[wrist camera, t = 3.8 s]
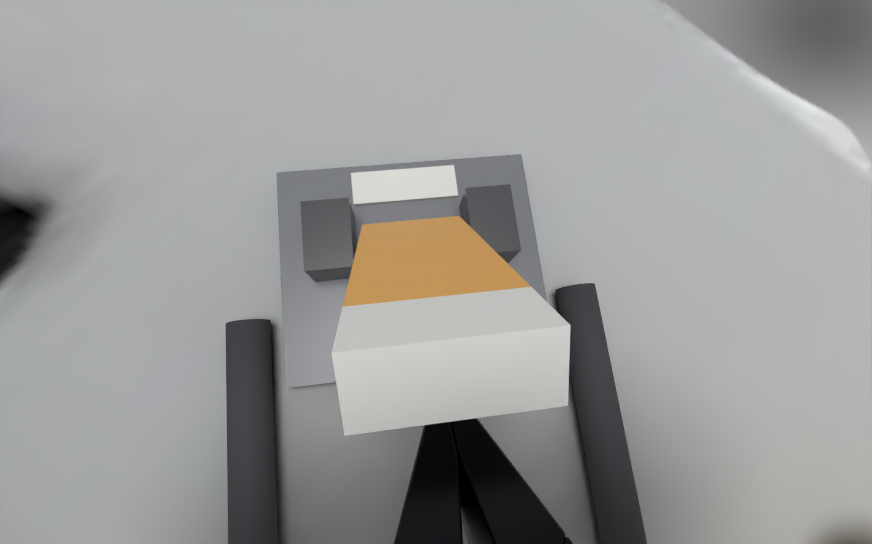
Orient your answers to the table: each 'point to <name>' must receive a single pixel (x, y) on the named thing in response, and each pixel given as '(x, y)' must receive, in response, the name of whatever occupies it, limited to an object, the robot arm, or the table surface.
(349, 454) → the table surface
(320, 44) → the table surface
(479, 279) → the lever
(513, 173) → the base
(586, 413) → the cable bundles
